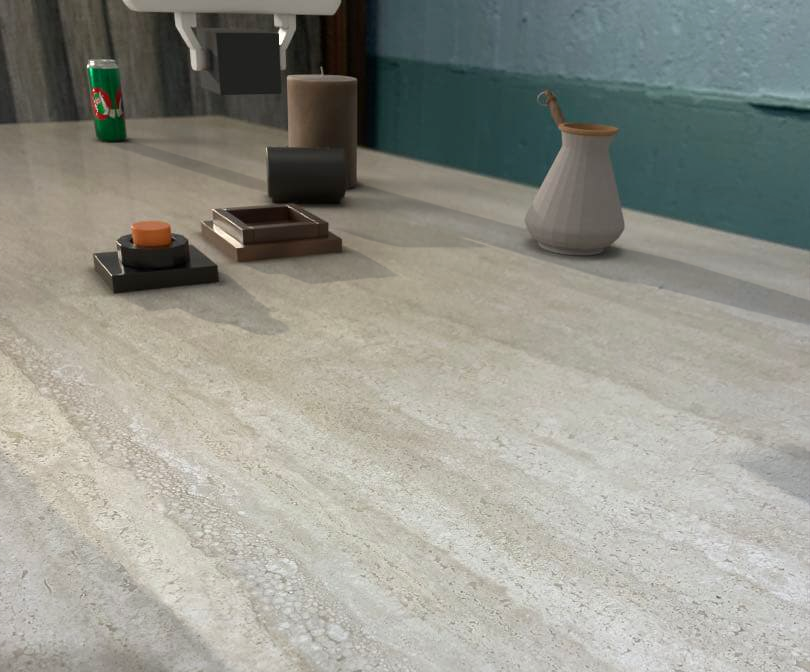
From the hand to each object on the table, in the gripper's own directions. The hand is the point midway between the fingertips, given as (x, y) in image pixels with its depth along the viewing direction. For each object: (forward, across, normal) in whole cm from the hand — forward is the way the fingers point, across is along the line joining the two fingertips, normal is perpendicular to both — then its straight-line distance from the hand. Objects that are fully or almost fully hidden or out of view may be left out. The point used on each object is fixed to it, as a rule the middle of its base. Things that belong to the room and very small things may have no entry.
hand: (239, 69), depth 82 cm
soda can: (+18, -2, -76) cm, 78 cm away
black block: (+2, 0, 0) cm, 2 cm away
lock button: (+14, +11, +4) cm, 18 cm away
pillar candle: (+18, -23, -33) cm, 44 cm away
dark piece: (+18, +11, +4) cm, 21 cm away
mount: (+18, -4, -4) cm, 19 cm away
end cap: (+18, -16, -23) cm, 33 cm away
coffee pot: (+18, -38, +3) cm, 42 cm away
